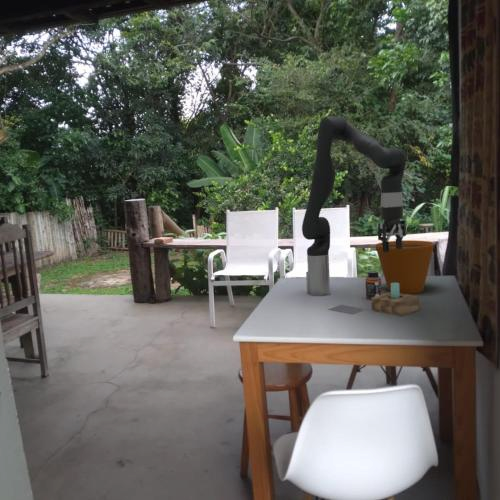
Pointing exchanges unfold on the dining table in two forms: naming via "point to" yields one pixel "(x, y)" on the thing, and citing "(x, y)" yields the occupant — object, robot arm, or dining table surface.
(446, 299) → the dining table surface
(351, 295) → the dining table surface
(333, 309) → the mat
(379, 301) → the hole block
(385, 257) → the flower pot
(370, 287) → the supplement bottle
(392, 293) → the peg
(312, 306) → the dining table surface
